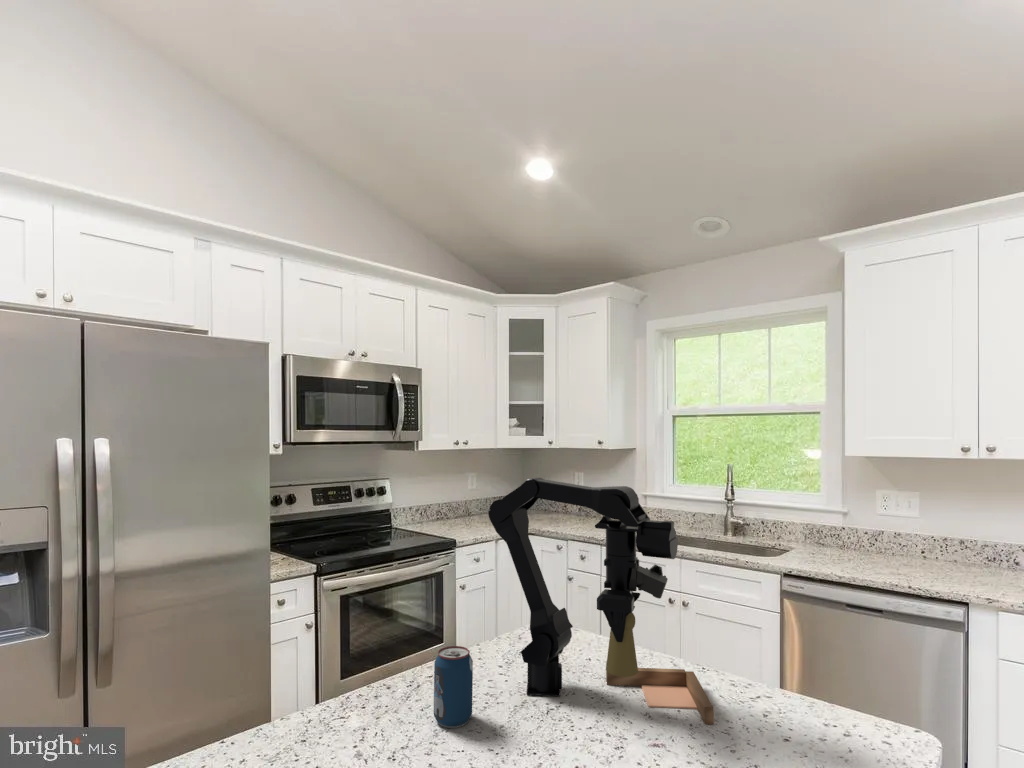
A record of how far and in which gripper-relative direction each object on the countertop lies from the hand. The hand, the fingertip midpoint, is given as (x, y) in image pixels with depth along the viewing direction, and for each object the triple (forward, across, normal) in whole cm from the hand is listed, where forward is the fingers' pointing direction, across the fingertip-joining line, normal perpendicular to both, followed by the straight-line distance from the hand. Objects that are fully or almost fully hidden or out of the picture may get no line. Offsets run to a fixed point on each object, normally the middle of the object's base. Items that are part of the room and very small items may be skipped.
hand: (621, 637), depth 113 cm
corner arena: (+13, +5, -5) cm, 15 cm away
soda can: (+13, -14, +28) cm, 34 cm away
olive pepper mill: (+6, 0, 0) cm, 6 cm away
